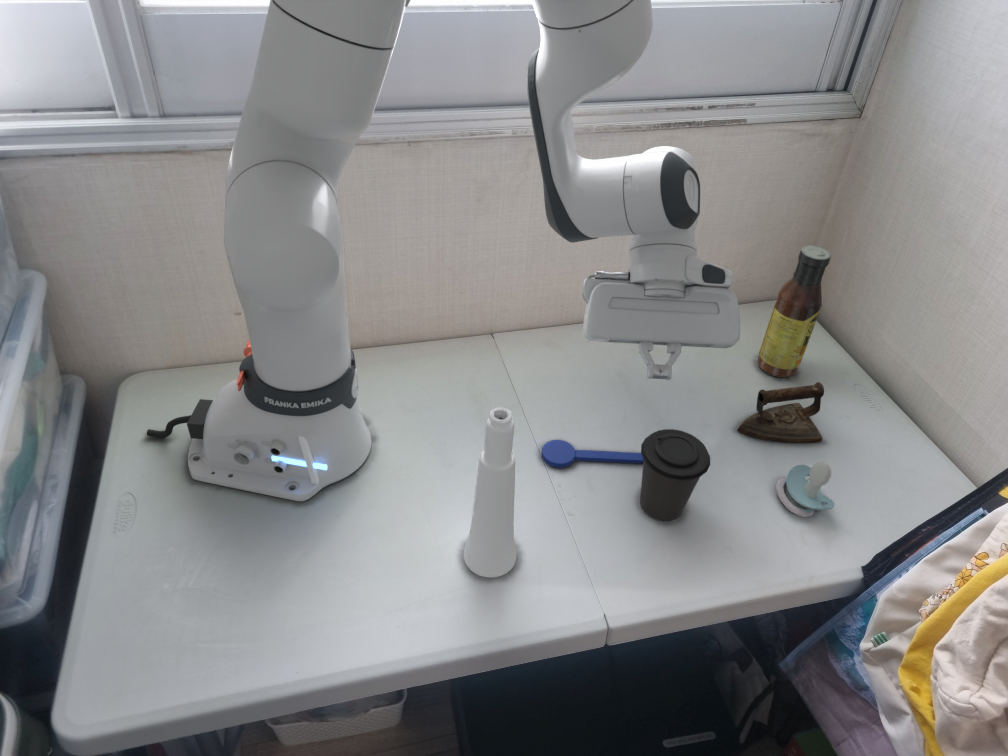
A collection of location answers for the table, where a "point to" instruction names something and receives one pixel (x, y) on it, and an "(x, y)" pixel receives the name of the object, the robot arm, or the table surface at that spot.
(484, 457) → the cosmetic bottle
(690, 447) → the coffee cup
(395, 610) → the table surface
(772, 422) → the clothes iron
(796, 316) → the sauce bottle
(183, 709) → the table surface
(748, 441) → the table surface
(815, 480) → the pacifier
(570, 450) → the spoon
